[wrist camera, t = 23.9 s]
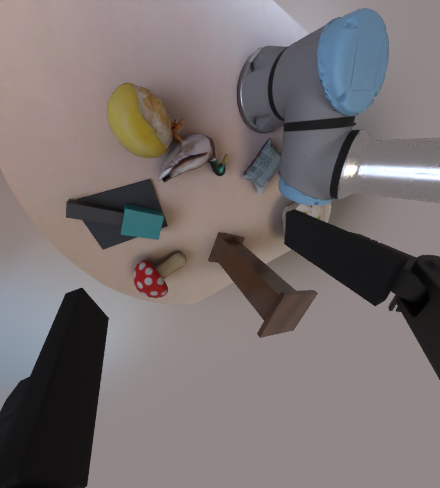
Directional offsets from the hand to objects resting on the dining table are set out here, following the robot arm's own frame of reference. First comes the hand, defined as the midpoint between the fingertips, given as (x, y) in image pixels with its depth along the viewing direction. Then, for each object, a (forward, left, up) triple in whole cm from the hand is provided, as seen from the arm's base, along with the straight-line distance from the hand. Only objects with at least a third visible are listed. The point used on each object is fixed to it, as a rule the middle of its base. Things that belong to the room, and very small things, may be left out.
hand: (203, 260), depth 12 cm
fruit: (-3, -9, -36) cm, 37 cm away
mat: (+8, +7, -36) cm, 37 cm away
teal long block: (+9, +6, -35) cm, 37 cm away
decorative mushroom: (+6, +24, -36) cm, 44 cm away
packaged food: (-30, +6, -36) cm, 48 cm away
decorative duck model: (-10, 0, -36) cm, 38 cm away
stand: (-15, +28, -36) cm, 48 cm away
